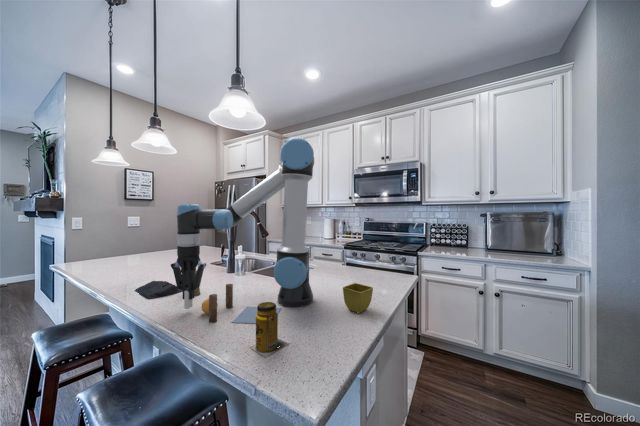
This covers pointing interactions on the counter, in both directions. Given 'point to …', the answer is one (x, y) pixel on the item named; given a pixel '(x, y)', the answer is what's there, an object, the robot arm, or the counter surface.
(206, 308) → the ball
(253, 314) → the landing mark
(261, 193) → the robot arm
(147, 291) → the dark slate chunk
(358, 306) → the flower pot
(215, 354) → the counter surface
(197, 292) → the cork
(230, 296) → the post
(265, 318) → the condiment
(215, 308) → the post
